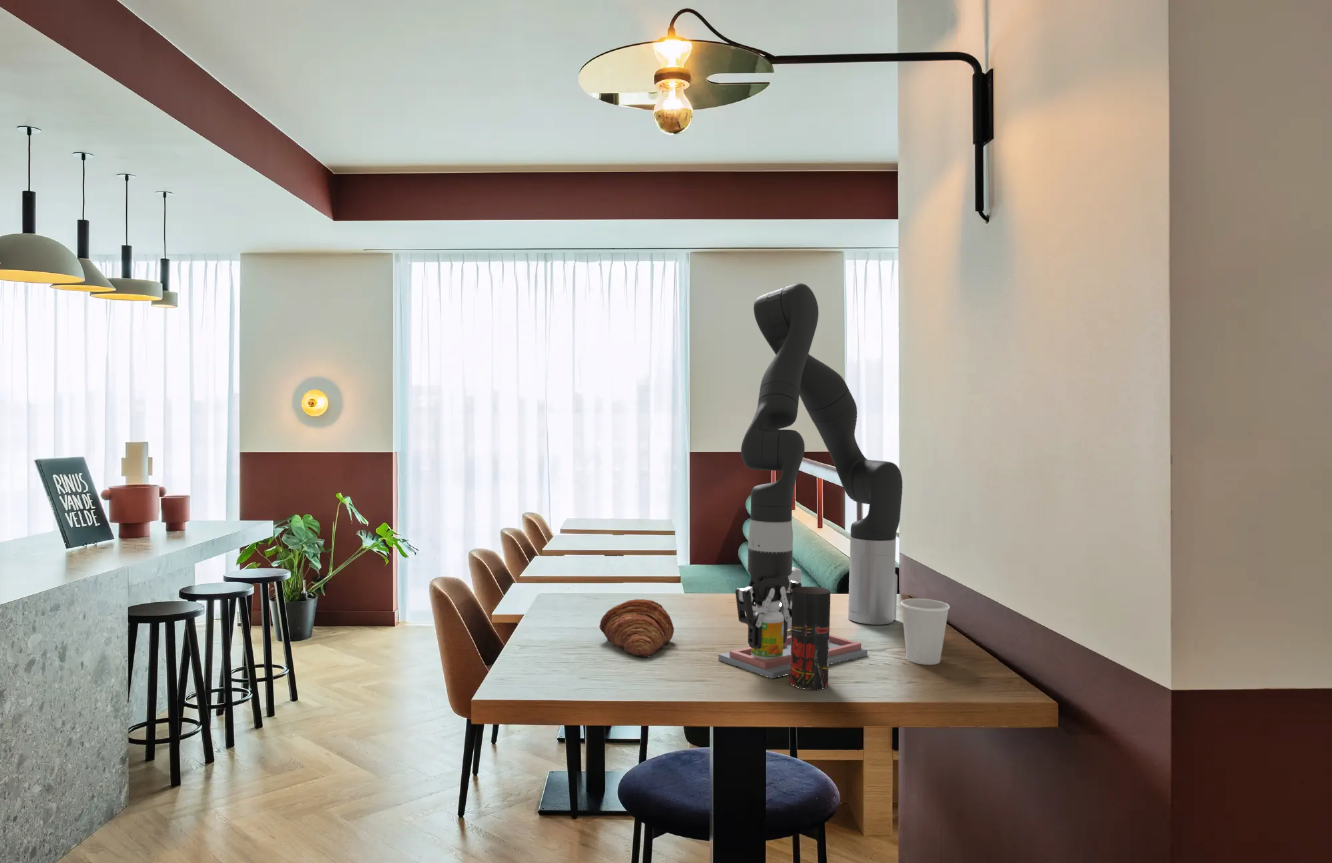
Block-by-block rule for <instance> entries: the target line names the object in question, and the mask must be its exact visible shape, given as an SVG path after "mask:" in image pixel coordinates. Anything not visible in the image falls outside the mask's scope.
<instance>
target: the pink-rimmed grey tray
mask: <svg viewBox="0 0 1332 863" xmlns="http://www.w3.org/2000/svg"><path fill="white" fill-rule="evenodd" d="M866 655H867V656H868V649H866V648H862V643H861V642H857V641H854V640H851V639H848V638H847V639H846V638H843V637H841V636H836V635H833V634H829V664H831V663H835V664H837V663H836V662H839V661H843V662H846V661H845V660H847V659H851V660H854V659H853V658H855V659H857V658H856V657H859V658H862V657H866ZM717 657H718V661H720V662H723V663H725V664H729V665H731V666H734V667H736V666H738V667H737V668H739V667H740V668H739V669H742V668H743V670H745V669H746V670H745V671H748V670H750V671H749V672H751V673H754V672H755V674H756V673H757V674H756V675H759V674H762V675H764V676H763V677H765V676H768V677H770V678H769V679H771V678H776V677H778V676H783V675H785V674H790V669H791V635H787V639H786V643H783V656H782V657H779V658H774V659H770V660H762V659H759V658H756V657H753V656H752V655H751V647H750V646H748V647H743V648H738V649H737V648H736V649H733V650H729V651H728V652H723V653H718V656H717ZM847 661H848V660H847ZM839 663H840V662H839ZM831 665H832V664H831ZM762 675H761V676H762ZM768 677H767V678H768ZM776 679H777V678H776Z"/></svg>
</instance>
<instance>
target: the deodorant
mask: <svg viewBox="0 0 1332 863" xmlns="http://www.w3.org/2000/svg"><path fill="white" fill-rule="evenodd" d="M830 620H831V590H830V589H828V588H824V587H820V586H819V587H818V586H802V587H796V588H793V589H792V629H791V631H790V633H791V634H790V636H791V669H790V675H789V679H790V681H789V683H790V682H791V684H792V685H794V686H797V687H799V688H805V689H809V690H808V691H818V690H817V689H822V688H825V687H826V686H828V687H829V666H830V665H829V635H830V630H831V628H830V626H831V624H830V623H831V622H830ZM791 684H790V685H791ZM792 685H791V686H792ZM799 688H798V689H799ZM815 689H816V690H815ZM825 689H826V688H825ZM822 690H823V689H822Z"/></svg>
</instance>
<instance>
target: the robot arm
mask: <svg viewBox="0 0 1332 863" xmlns="http://www.w3.org/2000/svg"><path fill="white" fill-rule="evenodd" d="M753 314H754V319H755V322H756V323H757V327H758V328H759V330H760V332H761V334H762V336H763V337H764V339H765V341H766V342H767V343H768V345H769V346H770V348H771V350H772V351H773V352H774V354H775V356H774V357H773V359H772V360H771V362H770V363H769V365H768V366H767V369H766V370H765V372H764V373H763V376H762V378H761V382H760V386H759V394H758V400H757V408H756V412H755V414H754V416H753V419H752V420H751V423H750V425H749V426H748V429H747V431H746V432H745V434H744V437H743V440H742V442H741V447H740V457H741V460H742V461H743V463H744V465H745V466H746V467H747V468H748V469H751V470H752V471H753V470H755V471H775V472H781V476H780V477H779V479H777V480H776V481H774V482H773V481H772V482H769V483H768V482H767V483H763V484H759V485H755V486H754V487H753V488H752V489H751V493H750V521H749V527H748V537H747V538H748V539H747V541H748V543H747V572H748V574H749V575H750V581H749V583H748V586H746V587H744V588H740V587H737V588H736V589H735V600H736V608H737V609H736V610H737V615H738V616H737V617H738V621H739V622H740V623H741V624H742V623H743V624H746V626H747V628H748V629H747V643H748V647H751V648H754V649H760V648H761V635H762V627H760V626H761V624H762V621H763V617H764V615H766V614H767V612H768V609H769V605H770V602H773V601H779V600H780V609H779V612H780V613H782V614H783V616H784V632H783V643H786V639H787V636H788V631H787V626H788V621H789V620H790V618H791V617H792V607H791V609H790V602H792V589H793V588H796V587H803V586H802V582H801V583H800V582H796V581H791V580H789V579H788V576H789V575H791V573H792V567H793V552H794V550H793V546H794V542H793V540H794V532H793V531H794V530H793V520H792V519H793V497H794V490H795V485H796V481H797V478H798V475H799V474H798V473H799V471H800V469H801V465H802V461H803V459H804V455H805V448H806V445H805V440H804V438H803V436H802V435H801V434H800V432H798V431H797V430H794V429H785V428H788V427H791V426H792V425H793V424H794V423H795V422H796V421H797V417H798V413H799V411H798V410H799V400H801V402H802V404H803V406H804V408H805V410H806V411H807V414H808V416H809V417H810V419H811V421H812V422H813V424H814V426H815V428H816V429H817V431H818V433H819V435H820V437H821V439H822V441H823V443H824V445H825V447H826V450H827V451H828V453H829V456H830V458H831V460H832V462H833V464H834V468H835V470H836V473H837V475H838V478H839V481H840V483H841V485H842V488H843V489H844V492H845V494H846V495H847V497H849V499H851V500H852V501H853V502H856V503H859V504H863V505H865V504H866V505H868V513H867V515H866V516H865V517H864V518H862V519H860V520H856V521H854V522H852V523H851V526H850V542H849V577H848V580H849V582H848V589H849V590H848V607H847V608H848V610H847V612H848V615H847V617H848V619H849V620H850V621H851V622H855V623H859V624H864V625H874V626H875V625H888V624H889V625H890V624H892V623H894V620H897V600H898V598H897V596H898V574H897V573H896V549H897V548H896V546H897V530H898V528H899V526H900V520H901V509H902V496H903V476H902V472H901V470H900V467H898V465H897V464H895V463H894V462H891V461H886V460H873V459H867V458H866V456H865V455H864V454H863V453H862V451H861V449H860V447H859V444H858V443H857V440H856V436H855V433H856V426H857V421H858V407H857V404H856V403H857V402H856V401H855V399H854V397H853V395H852V393H851V390H850V389H849V387H848V385H847V382H846V381H845V380H844V378H843V376H841V374H840V373H838V372H837V371H836V370H834V369H833V368H831V367H830V366H828V365H827V364H826V363H824V362H822V361H820V360H819V359H817V358H815V357H814V356H813V355H811V354H810V350H811V348H812V343H813V340H814V337H815V333H816V330H817V327H818V326H817V325H818V321H819V314H820V313H819V305H818V299H817V298H816V295H815V293H814V292H813V290H812V289H811V288H810V287H809V286H808V285H807V284H805V283H800V282H799V283H795V284H791V285H787V286H784V287H782V288H779V289H776V290H773V291H770V292H768V293H764V294H762V295H760V296H758V297H757V298H756V299H755V300H754V303H753ZM757 605H760V606H761V607H760V608H758V607H757ZM756 613H757V617H756V619H754V618H755V614H756Z"/></svg>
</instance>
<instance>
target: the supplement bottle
mask: <svg viewBox="0 0 1332 863" xmlns="http://www.w3.org/2000/svg"><path fill="white" fill-rule="evenodd" d="M756 607H758V608H760V607H761V606H760V605H756ZM779 609H780V600H779V601H773V602H770V605H769V609H768V612H767V614H766V615H764V617H763V621H762V624H761V626H760V627H762V635H761V648H760V649H754V648H751V655H752V656H753V657H756V658H759V659H762V660H770V659H774V658H779V657H782V656H783V632H784V616H783V614H782V613H780V612H779ZM756 617H757V613H756V614H755V618H754V619H756Z"/></svg>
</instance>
